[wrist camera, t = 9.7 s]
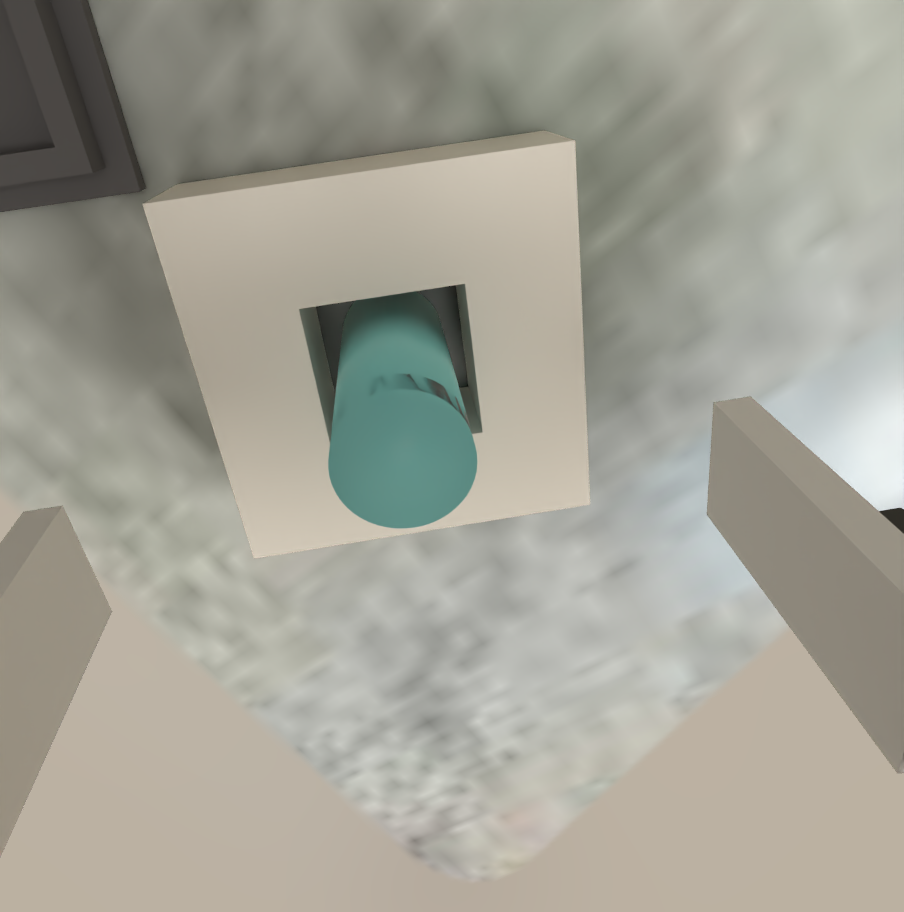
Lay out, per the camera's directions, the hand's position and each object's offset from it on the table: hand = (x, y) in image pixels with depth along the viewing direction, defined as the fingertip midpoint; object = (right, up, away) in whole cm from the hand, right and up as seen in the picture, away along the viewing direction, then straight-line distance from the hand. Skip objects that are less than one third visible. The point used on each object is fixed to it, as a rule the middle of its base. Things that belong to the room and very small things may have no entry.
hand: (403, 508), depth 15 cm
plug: (-1, +6, +11) cm, 13 cm away
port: (-1, +6, +11) cm, 13 cm away
